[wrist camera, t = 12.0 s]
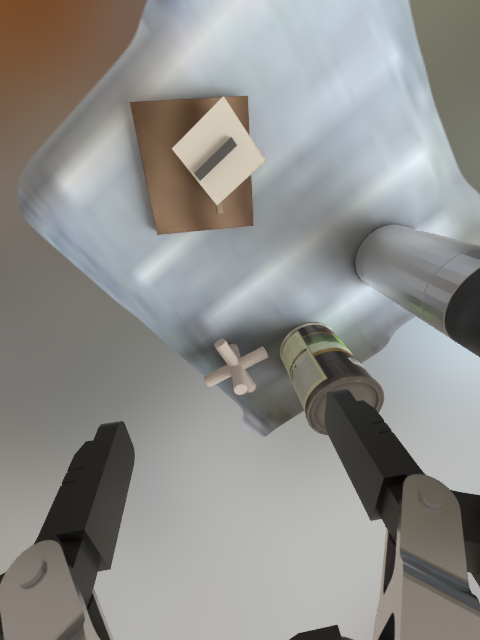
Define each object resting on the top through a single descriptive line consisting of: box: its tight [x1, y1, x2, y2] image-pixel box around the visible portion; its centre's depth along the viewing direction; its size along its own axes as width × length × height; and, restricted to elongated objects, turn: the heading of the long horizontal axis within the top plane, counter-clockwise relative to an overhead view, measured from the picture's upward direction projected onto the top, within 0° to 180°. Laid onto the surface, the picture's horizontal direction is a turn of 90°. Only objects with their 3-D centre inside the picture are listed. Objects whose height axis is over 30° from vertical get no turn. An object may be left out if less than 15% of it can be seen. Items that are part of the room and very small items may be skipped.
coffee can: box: [280, 323, 384, 435], centre depth 41 cm, size 10×10×14 cm
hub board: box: [130, 96, 253, 235], centre depth 32 cm, size 12×13×2 cm
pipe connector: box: [204, 339, 268, 395], centre depth 41 cm, size 10×10×10 cm
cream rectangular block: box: [172, 96, 265, 205], centre depth 28 cm, size 6×6×8 cm
